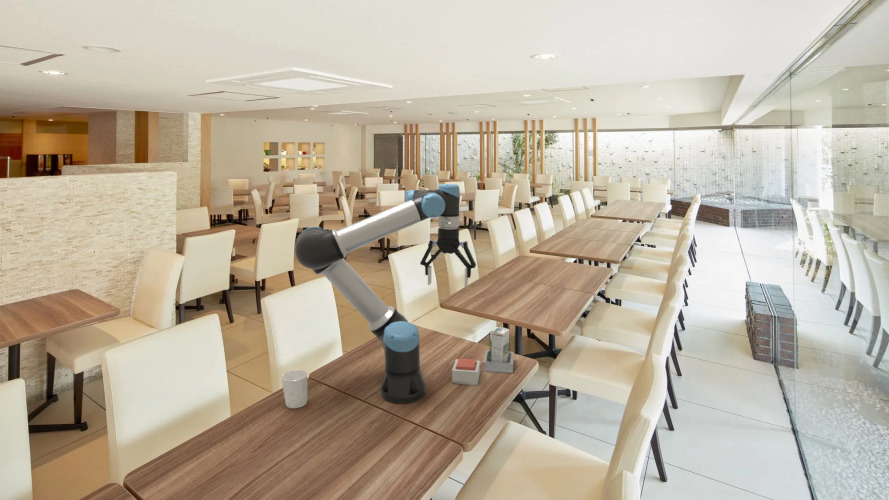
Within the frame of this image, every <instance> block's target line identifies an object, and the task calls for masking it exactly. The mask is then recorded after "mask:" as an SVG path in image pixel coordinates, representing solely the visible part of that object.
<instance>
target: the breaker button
mask: <svg viewBox="0 0 889 500" xmlns="http://www.w3.org/2000/svg"><path fill="white" fill-rule="evenodd" d="M476 361H477V359H474V358H472V359H471V358H458V362H457V365H456V369H459V370H474V371H475V368H476Z"/></svg>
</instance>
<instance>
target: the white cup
mask: <svg viewBox="0 0 889 500" xmlns="http://www.w3.org/2000/svg"><path fill="white" fill-rule="evenodd" d="M280 379H281V384H282V390H283V395H284V396H283V397H284V401H285V406H286V407H287V408H288V409H298V408H301V407H304V406H305V405H306V404H307V403H308V372H307V371H306V370H304V369H293V370H288V371H287V372H285V373H282V375H281V378H280Z"/></svg>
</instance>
